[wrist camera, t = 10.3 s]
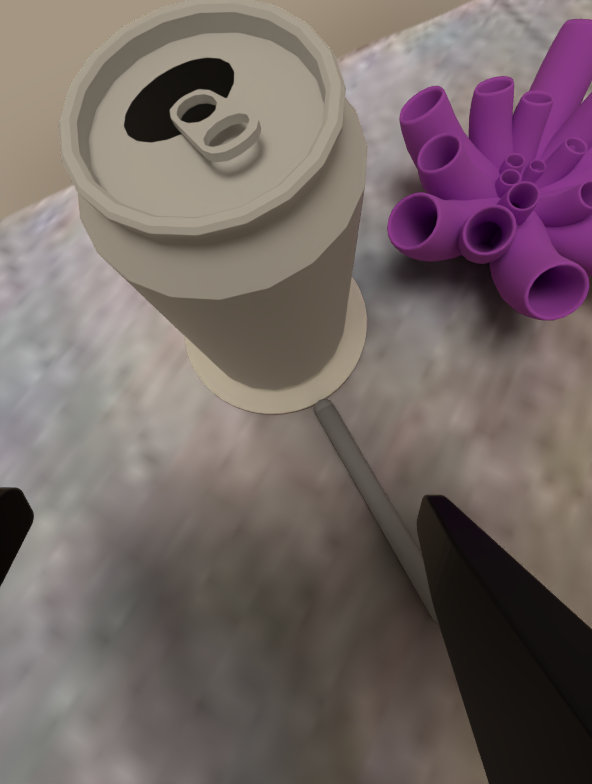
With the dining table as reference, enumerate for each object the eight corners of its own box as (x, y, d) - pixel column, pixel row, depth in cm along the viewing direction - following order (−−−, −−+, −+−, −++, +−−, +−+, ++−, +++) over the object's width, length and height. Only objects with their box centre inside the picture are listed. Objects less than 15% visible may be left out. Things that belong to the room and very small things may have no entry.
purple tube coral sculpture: (590, 243, 22) (819, 239, 14) (376, 331, 22) (469, 384, 13) (591, 18, 18) (938, -206, 9) (321, 127, 18) (407, 6, 9)
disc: (402, 356, 18) (403, 354, 18) (235, 449, 18) (233, 448, 18) (309, 216, 21) (309, 212, 20) (159, 296, 20) (156, 293, 20)
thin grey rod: (454, 613, 16) (463, 623, 15) (435, 625, 16) (442, 635, 15) (327, 397, 18) (328, 393, 17) (311, 406, 18) (310, 403, 17)
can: (284, 239, 20) (229, -86, 8) (373, 332, 18) (461, 92, 7) (180, 319, 19) (-39, 93, 8) (262, 422, 18) (144, 336, 6)
